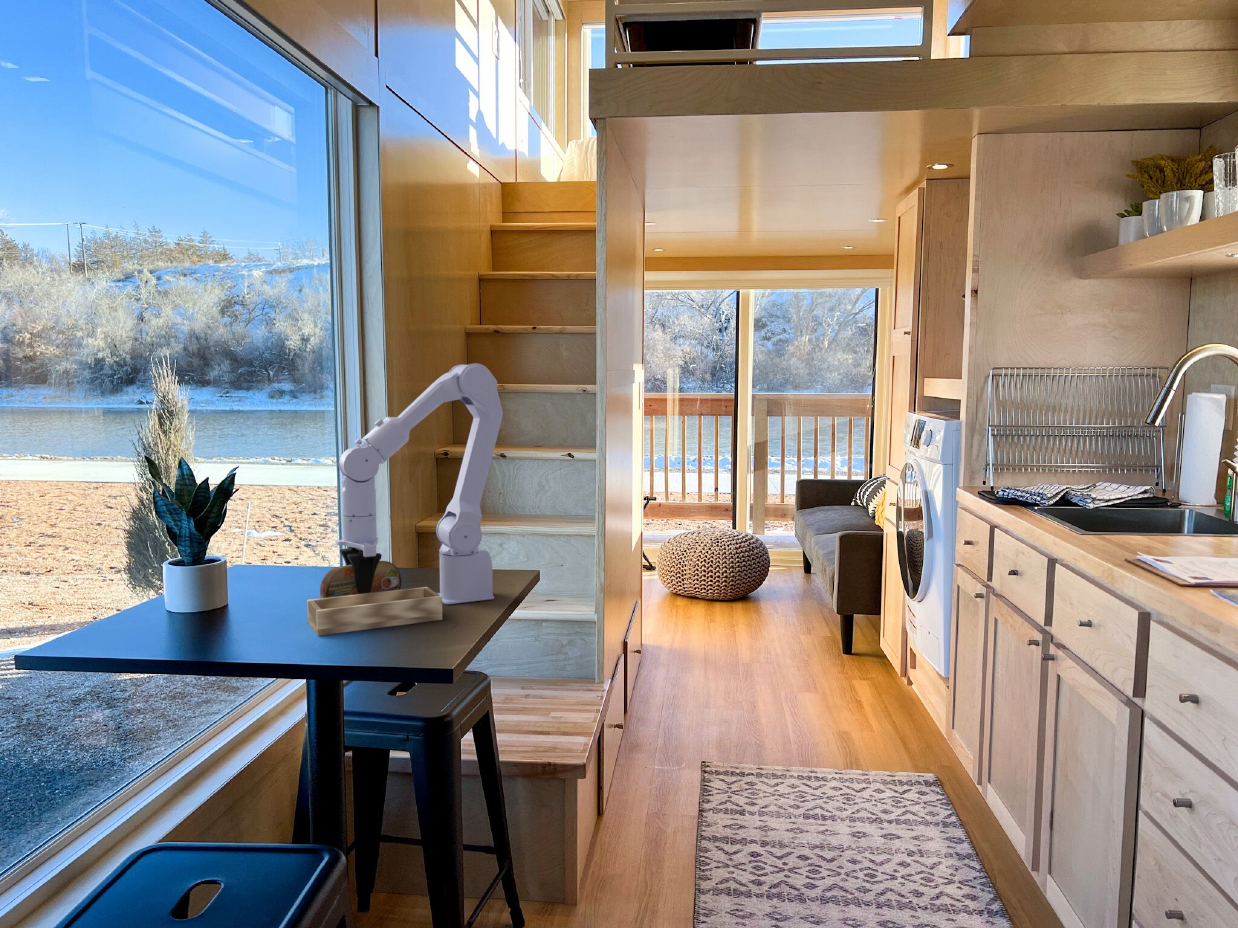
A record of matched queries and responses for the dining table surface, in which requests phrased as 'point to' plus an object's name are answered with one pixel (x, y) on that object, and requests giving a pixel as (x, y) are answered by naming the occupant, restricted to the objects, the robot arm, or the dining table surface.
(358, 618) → the crate
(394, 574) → the tin
